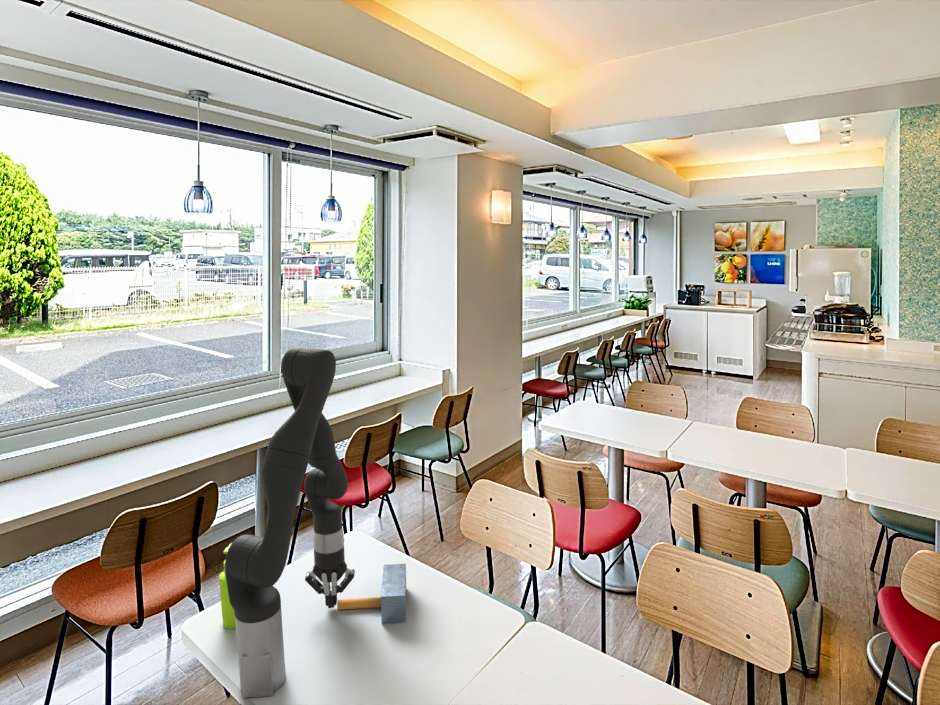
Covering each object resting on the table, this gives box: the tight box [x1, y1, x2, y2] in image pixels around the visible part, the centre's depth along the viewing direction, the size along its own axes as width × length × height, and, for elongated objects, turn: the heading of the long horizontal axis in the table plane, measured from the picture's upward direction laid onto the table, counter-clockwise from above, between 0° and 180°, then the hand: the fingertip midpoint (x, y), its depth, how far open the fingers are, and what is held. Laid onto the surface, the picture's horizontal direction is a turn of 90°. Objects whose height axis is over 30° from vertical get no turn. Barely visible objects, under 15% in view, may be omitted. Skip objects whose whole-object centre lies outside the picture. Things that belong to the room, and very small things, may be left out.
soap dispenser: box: [218, 542, 236, 630], centre depth 142 cm, size 6×7×20 cm
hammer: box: [336, 596, 381, 611], centre depth 149 cm, size 4×17×4 cm, turn 96°
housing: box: [380, 563, 407, 625], centre depth 149 cm, size 14×6×8 cm, turn 6°
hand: (331, 606), depth 148 cm, fingers closed
